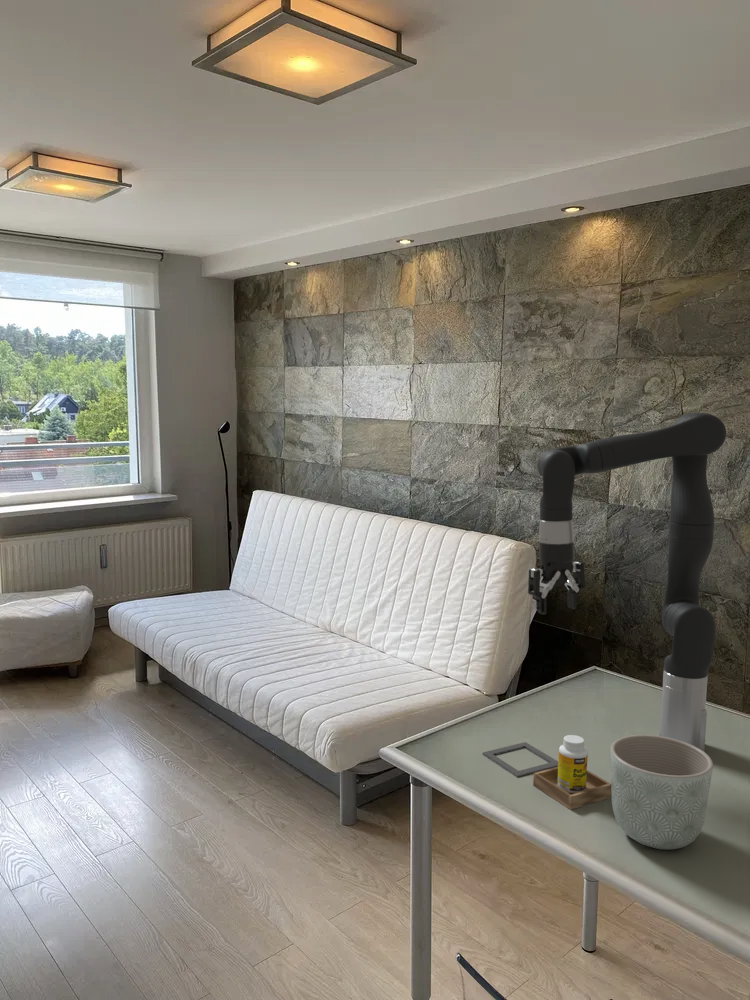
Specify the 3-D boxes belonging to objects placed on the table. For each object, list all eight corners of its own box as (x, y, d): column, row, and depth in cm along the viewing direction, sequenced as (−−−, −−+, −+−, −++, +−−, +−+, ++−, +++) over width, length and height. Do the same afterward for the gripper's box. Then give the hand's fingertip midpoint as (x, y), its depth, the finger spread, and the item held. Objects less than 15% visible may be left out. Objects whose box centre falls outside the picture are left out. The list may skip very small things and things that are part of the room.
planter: (586, 829, 138) (590, 748, 137) (642, 802, 148) (647, 727, 147) (671, 875, 125) (676, 786, 123) (726, 842, 135) (732, 759, 133)
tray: (573, 774, 159) (573, 762, 159) (611, 797, 150) (612, 784, 150) (533, 785, 154) (533, 773, 154) (570, 809, 145) (570, 796, 145)
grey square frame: (525, 743, 174) (525, 742, 174) (561, 765, 163) (561, 763, 163) (482, 754, 168) (482, 752, 168) (517, 777, 158) (517, 775, 158)
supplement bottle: (572, 797, 148) (574, 747, 147) (551, 785, 153) (553, 736, 152) (592, 790, 151) (594, 740, 150) (570, 778, 156) (572, 730, 155)
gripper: (542, 545, 163) (543, 619, 165) (592, 538, 170) (593, 609, 172) (520, 541, 170) (521, 612, 172) (569, 534, 176) (570, 603, 178)
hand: (557, 610), depth 172 cm, fingers open, 8 cm apart
